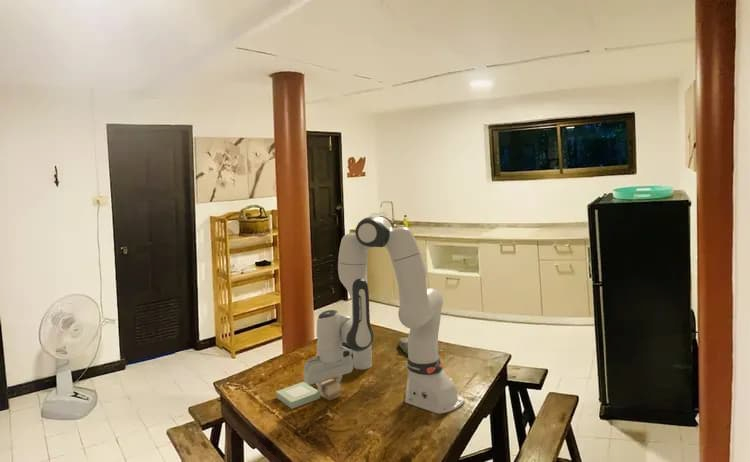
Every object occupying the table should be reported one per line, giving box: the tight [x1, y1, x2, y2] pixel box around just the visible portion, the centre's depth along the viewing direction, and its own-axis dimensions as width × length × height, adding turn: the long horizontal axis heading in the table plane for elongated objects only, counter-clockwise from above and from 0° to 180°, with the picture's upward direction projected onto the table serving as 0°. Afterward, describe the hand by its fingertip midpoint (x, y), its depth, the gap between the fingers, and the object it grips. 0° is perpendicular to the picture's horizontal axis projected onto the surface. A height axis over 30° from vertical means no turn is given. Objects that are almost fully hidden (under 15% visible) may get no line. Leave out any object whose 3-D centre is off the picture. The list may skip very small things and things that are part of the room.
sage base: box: [275, 381, 321, 410], centre depth 182 cm, size 12×12×3 cm
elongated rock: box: [397, 337, 408, 356], centre depth 219 cm, size 35×5×10 cm
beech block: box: [320, 378, 342, 401], centre depth 183 cm, size 6×6×5 cm
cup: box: [352, 344, 373, 370], centre depth 209 cm, size 8×8×12 cm
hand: (329, 388), depth 184 cm, fingers open, 6 cm apart
